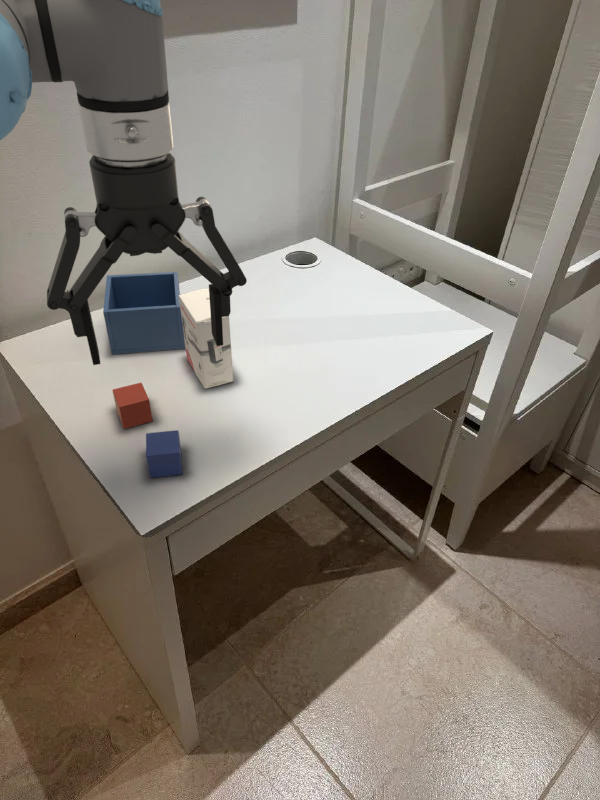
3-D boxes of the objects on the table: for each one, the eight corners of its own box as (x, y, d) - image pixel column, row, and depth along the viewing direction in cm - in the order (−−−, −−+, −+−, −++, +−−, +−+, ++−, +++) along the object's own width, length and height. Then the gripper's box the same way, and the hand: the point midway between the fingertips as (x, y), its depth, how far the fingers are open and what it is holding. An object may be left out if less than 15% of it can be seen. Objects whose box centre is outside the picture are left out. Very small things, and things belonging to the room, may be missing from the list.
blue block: (150, 478, 72) (145, 455, 69) (149, 455, 75) (145, 433, 72) (182, 474, 72) (179, 452, 70) (181, 452, 75) (178, 429, 73)
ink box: (184, 359, 91) (177, 292, 83) (214, 351, 93) (210, 285, 85) (203, 391, 85) (197, 322, 77) (234, 382, 87) (232, 314, 79)
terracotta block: (123, 429, 78) (119, 407, 75) (116, 411, 81) (112, 389, 78) (152, 421, 80) (149, 399, 77) (145, 403, 82) (141, 382, 80)
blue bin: (111, 354, 91) (103, 312, 86) (114, 316, 99) (106, 275, 94) (185, 348, 93) (180, 306, 88) (181, 311, 101) (177, 271, 96)
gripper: (-25, 178, 46) (41, 386, 59) (277, 158, 52) (273, 349, 66) (-18, 148, 51) (40, 346, 65) (254, 134, 58) (255, 316, 72)
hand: (158, 348), depth 65 cm, fingers open, 13 cm apart
